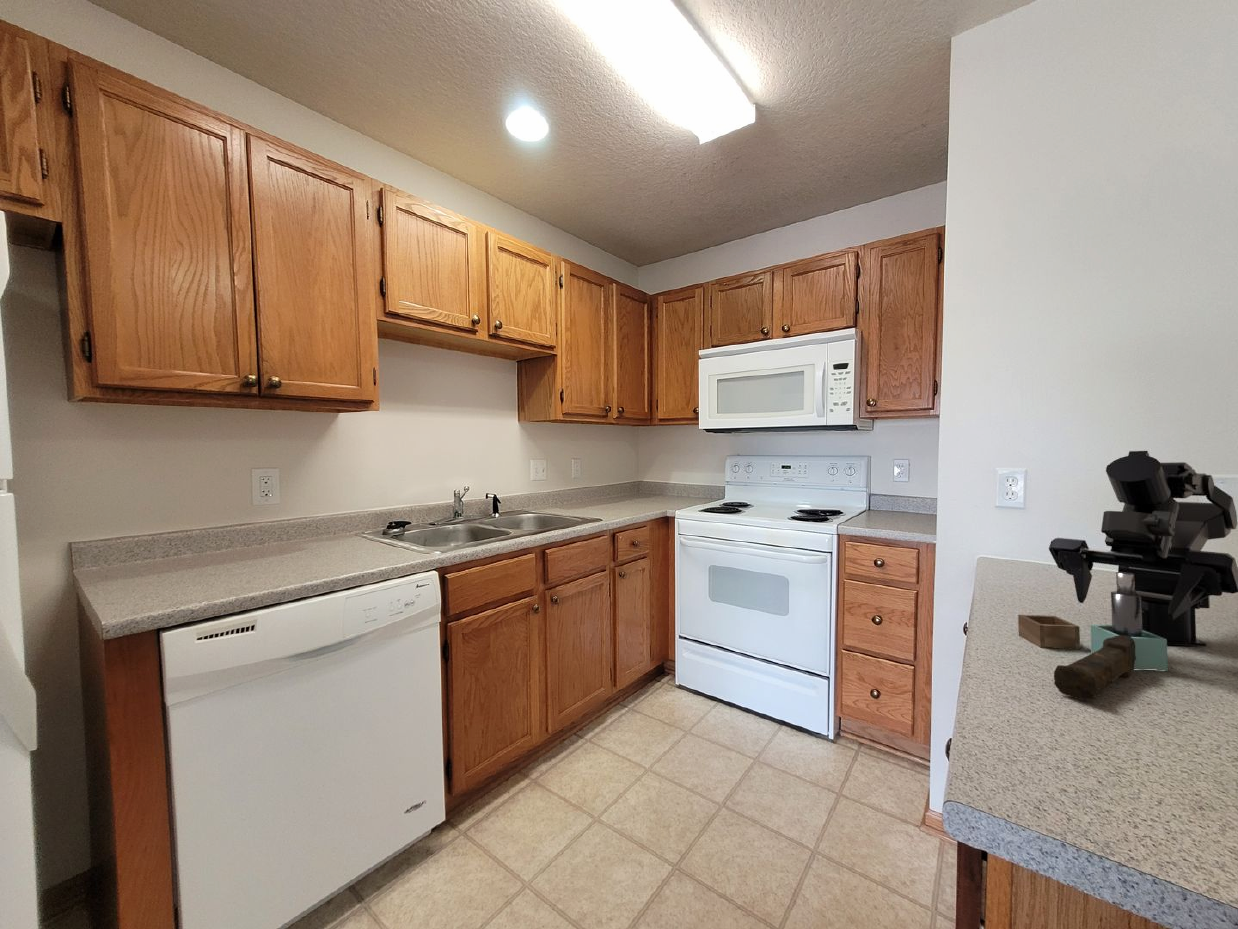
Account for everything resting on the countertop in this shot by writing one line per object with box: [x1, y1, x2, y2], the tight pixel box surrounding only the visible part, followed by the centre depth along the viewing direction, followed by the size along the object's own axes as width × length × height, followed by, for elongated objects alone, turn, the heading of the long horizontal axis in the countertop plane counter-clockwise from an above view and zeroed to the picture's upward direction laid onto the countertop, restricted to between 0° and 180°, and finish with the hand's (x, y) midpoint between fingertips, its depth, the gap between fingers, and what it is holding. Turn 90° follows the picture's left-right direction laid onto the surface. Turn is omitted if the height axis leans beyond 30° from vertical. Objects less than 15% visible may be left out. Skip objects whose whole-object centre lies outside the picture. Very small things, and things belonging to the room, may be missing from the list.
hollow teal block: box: [1090, 624, 1169, 671], centre depth 69 cm, size 5×5×4 cm
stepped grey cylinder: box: [1110, 571, 1142, 637], centre depth 69 cm, size 3×3×13 cm
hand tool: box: [1053, 635, 1136, 701], centre depth 63 cm, size 19×4×5 cm, turn 115°
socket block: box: [1017, 614, 1081, 650], centre depth 77 cm, size 5×5×4 cm
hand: (1122, 609), depth 68 cm, fingers open, 9 cm apart
